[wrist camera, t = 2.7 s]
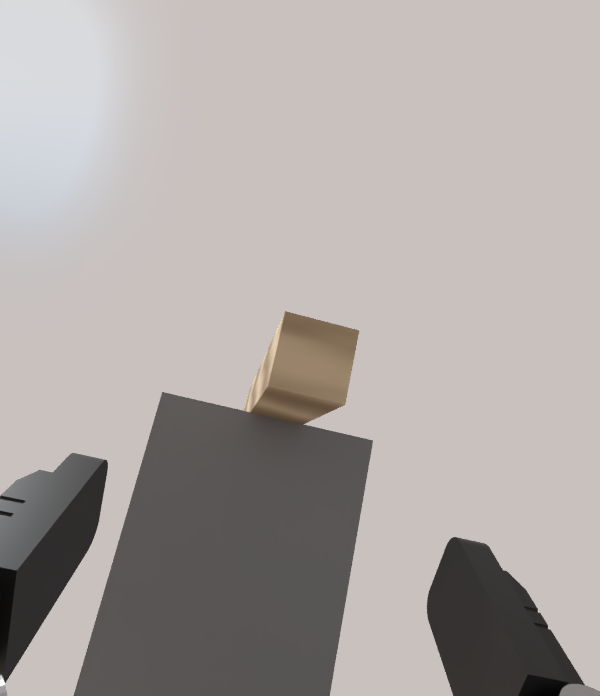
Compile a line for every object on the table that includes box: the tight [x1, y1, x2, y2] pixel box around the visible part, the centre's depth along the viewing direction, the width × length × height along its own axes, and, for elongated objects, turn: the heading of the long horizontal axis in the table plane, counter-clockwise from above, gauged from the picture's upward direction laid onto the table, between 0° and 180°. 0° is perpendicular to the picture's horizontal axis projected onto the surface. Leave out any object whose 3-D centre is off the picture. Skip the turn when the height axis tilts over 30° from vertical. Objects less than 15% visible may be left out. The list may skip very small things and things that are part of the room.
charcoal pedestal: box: [74, 392, 373, 696], centre depth 30 cm, size 15×13×32 cm
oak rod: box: [244, 312, 359, 424], centre depth 29 cm, size 22×3×3 cm, turn 10°
